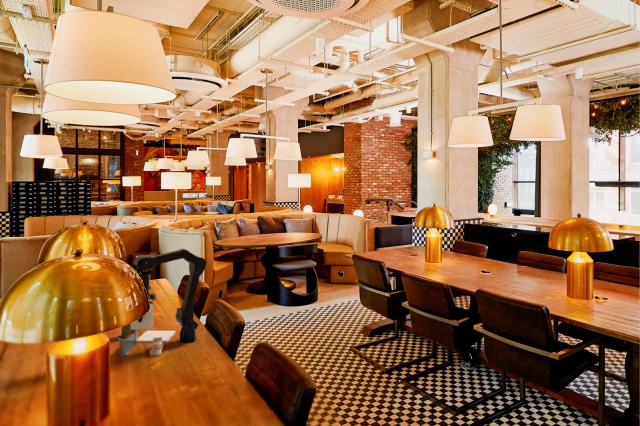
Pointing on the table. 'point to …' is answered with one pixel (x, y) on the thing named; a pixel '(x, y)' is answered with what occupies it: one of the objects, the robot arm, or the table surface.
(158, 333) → the mat
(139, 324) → the grey upright block
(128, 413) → the table surface
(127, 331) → the condiment
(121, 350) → the rack
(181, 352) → the table surface
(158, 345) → the offcut stack
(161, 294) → the table surface
